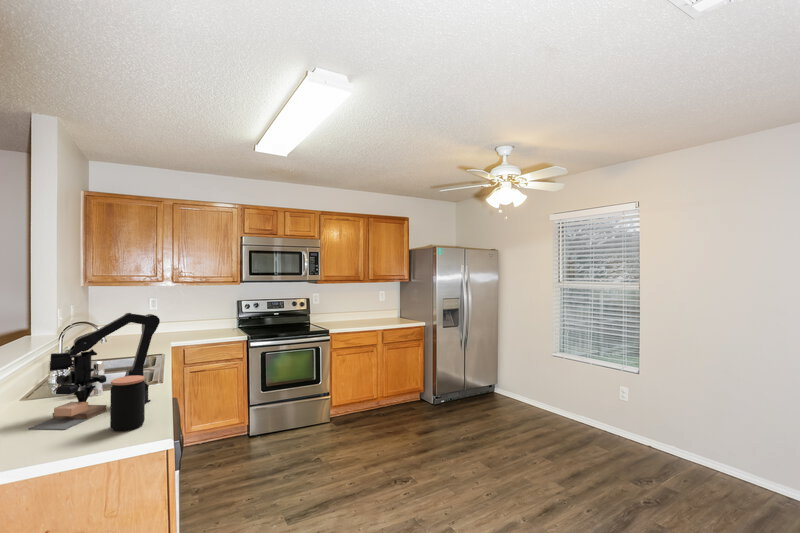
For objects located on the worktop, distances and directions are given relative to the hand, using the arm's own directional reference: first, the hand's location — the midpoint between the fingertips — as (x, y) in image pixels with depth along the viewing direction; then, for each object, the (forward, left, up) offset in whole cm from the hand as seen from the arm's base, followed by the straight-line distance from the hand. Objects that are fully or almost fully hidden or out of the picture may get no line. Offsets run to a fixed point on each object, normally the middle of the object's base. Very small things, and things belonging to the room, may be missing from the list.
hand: (82, 405), depth 165 cm
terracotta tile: (0, +5, -1) cm, 5 cm away
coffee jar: (-28, +12, -4) cm, 31 cm away
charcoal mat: (0, +11, -4) cm, 12 cm away
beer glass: (+16, -26, -4) cm, 31 cm away
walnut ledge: (0, +1, -4) cm, 4 cm away
